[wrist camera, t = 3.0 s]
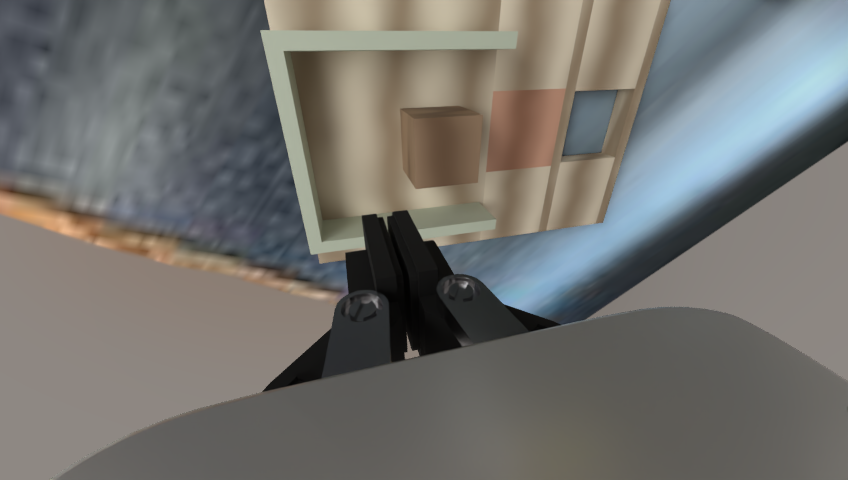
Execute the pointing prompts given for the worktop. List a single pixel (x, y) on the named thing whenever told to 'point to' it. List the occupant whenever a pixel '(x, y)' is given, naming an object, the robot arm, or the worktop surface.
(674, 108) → the worktop surface
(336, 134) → the board
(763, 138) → the worktop surface
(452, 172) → the walnut block
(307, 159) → the low bay
